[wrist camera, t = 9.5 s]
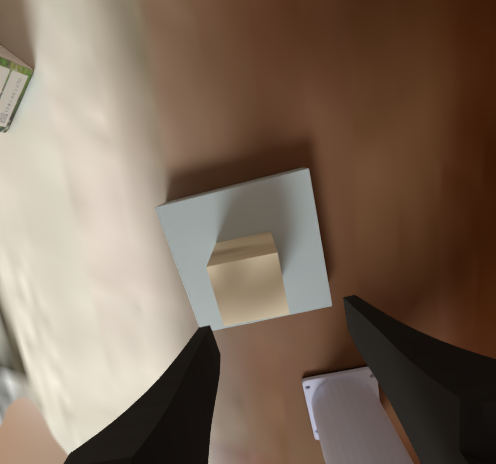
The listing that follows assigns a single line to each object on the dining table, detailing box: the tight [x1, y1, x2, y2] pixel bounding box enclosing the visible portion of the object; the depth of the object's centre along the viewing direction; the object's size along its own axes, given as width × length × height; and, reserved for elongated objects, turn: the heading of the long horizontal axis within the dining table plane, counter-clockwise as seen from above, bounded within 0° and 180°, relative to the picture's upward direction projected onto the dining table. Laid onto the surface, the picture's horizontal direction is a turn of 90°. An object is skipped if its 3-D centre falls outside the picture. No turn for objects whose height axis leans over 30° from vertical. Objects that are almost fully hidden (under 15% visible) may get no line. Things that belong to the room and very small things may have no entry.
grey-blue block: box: [155, 167, 332, 331], centre depth 21 cm, size 12×12×3 cm
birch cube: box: [206, 231, 290, 326], centre depth 17 cm, size 4×4×4 cm
